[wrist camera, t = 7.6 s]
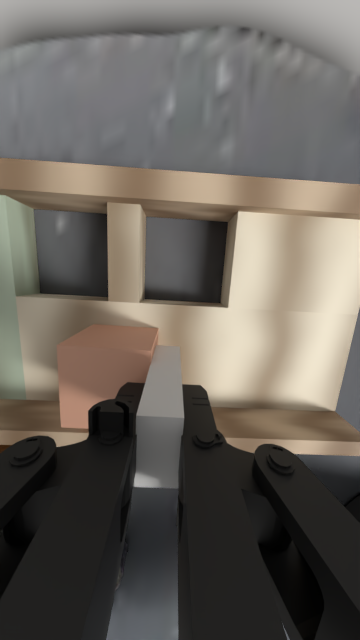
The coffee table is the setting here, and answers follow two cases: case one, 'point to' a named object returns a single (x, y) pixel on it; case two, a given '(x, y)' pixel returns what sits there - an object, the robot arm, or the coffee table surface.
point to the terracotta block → (100, 367)
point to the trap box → (193, 317)
